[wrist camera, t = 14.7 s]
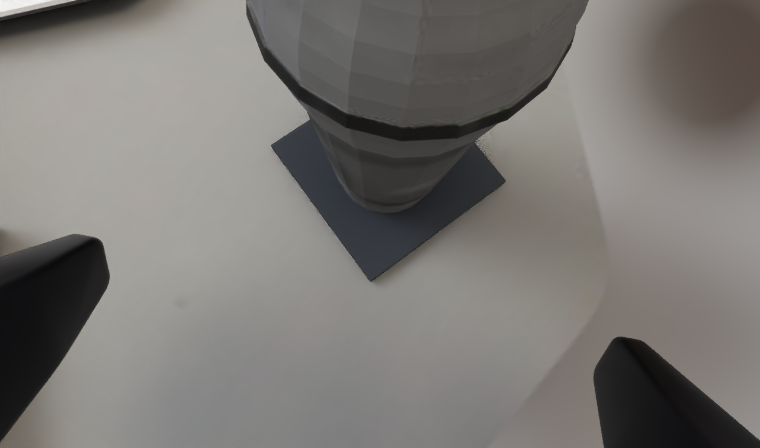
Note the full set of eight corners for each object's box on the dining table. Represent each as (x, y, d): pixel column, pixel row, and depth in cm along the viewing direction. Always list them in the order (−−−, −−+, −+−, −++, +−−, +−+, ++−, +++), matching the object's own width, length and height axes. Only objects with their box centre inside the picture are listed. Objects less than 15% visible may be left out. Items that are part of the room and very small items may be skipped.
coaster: (503, 183, 21) (506, 180, 21) (370, 282, 20) (371, 281, 20) (403, 62, 22) (404, 57, 22) (272, 148, 21) (270, 144, 21)
